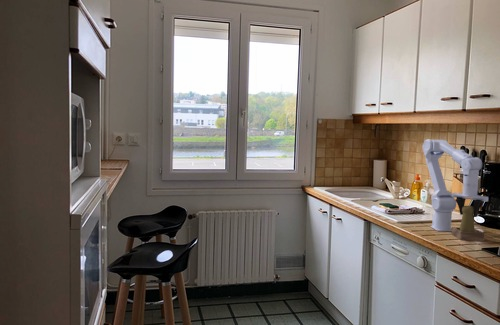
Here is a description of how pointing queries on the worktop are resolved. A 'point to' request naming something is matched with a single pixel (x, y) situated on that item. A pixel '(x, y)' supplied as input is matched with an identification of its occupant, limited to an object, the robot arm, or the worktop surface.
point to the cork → (467, 219)
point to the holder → (468, 234)
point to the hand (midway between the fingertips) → (468, 215)
